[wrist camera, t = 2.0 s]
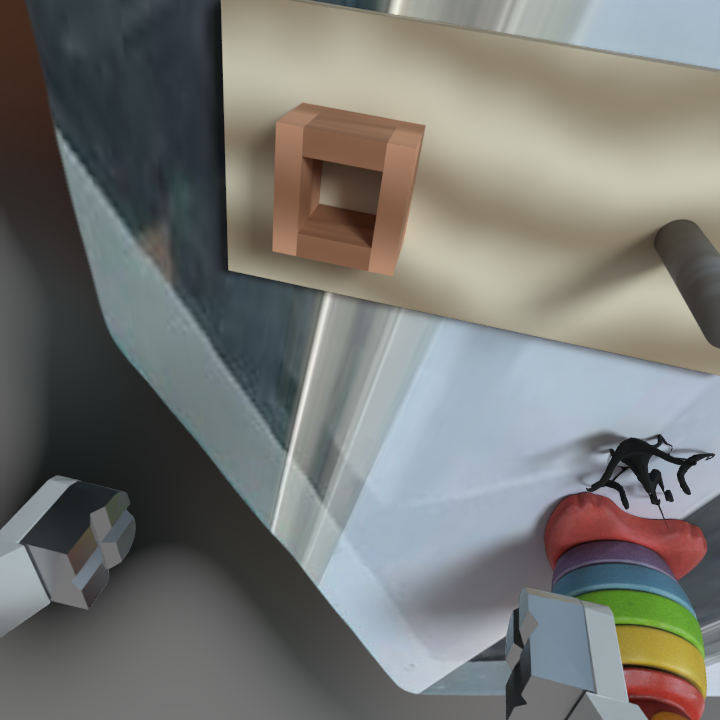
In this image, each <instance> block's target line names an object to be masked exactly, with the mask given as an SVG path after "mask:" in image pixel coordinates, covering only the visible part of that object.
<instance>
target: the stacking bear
mask: <svg viewBox="0 0 720 720" xmlns="http://www.w3.org/2000/svg"><path fill="white" fill-rule="evenodd" d="M665 521H666V523H667V525H666V523H665ZM667 526H668V527H667ZM668 528H669V529H668ZM544 542H545V550H546V554H547V558H548V561H549V563H550V566H551V568H552V569H553V571H554V574H553V580H552V592H551V593H556V594H560V595H565V596H569V597H574V598H578V599H579V600H583V601H588V602H592V603H597V604H602V605H606V606H608V607H609V608H610V609H611V611H612V613H613V617H614V622H615V628H616V633H617V639H618V644H619V650H620V656H621V661H622V667H623V672H624V678H625V683H626V689H627V694H628V700H629V702H630V703H633V704H636V705H638V706H639V707H640V709H641V710H642V712H643V713H644V714H645V716H646V717H647V719H648V720H700V718H701V716H702V714H703V711H704V708H705V701H704V700H705V698H706V690H707V683H706V669H705V663H704V657H705V653H704V645H703V639H702V634H701V629H700V626H699V623H698V621H697V618H696V614H695V612H694V610H693V608H692V605H691V603H690V601H689V599H688V597H687V595H686V593H685V592H684V590H683V589H682V587H681V586H680V585H679V583H678V581H677V580H679V579H680V578H682V577H683V576H684V575H686V574H687V573H688V572H690V571H691V570H692V569H693V568H694V567H695V566H696V565H697V564H698V563H699V562H700V561H701V560H702V559H703V557H704V556H705V553H706V552H707V542H706V539H705V537H704V536H703V532H702V530H701V529H700V528H699V527H697V526H695V525H692V524H689V523H688V522H685V521H682V520H673V519H671V520H650V519H644V518H639V517H636V516H633V515H630V514H628V513H626V512H624V511H622V510H621V509H620V508H619V507H618V506H617V505H616V504H615V503H614V502H613V501H612V500H610V499H609V498H607V497H604V496H600V495H595V494H593V493H588V492H587V493H582V494H578V495H572V496H569V497H567V498H566V499H564V500H563V501H561V502H560V504H559V505H558V506H557V507H556V509H555V510H554V511H553V513H552V515H551V517H550V519H549V521H548V523H547V526H546V530H545V537H544Z"/></svg>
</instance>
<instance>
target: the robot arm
mask: <svg viewBox="0 0 720 720" xmlns="http://www.w3.org/2000/svg"><path fill="white" fill-rule="evenodd" d="M129 504H130V502H129V499H128V496H127V493H126V492H122V491H118V490H114V489H110V488H106V487H102V486H98V485H94V484H90V483H86V482H82V481H79V480H74V479H71V478H67V477H62V476H58V475H57V476H55V477H53V478H51V479H49V480H48V481H47V482H46V483H45V484H44V485H43V486H42V487H41V488H40V489H39V490H38V491H37V492H36V493H35V494H34V495H33V496H32V498H31V499H30V500H29V501H28V502H27V503H26V504H25V505H24V506H23V507H22V508H21V509H20V510H19V511H18V512H17V513H16V514H15V515H14V516H13V517H12V519H11V520H10V521H9V522H8V523H7V524H6V525H5V526H4V527H3V528H2V529H1V530H0V637H2V636H3V635H5V634H6V633H8V632H9V631H10V630H12V629H13V628H15V627H16V626H18V625H19V624H21V623H22V622H23V621H25V620H26V619H28V618H29V617H31V616H32V615H34V614H35V613H37V612H38V611H39V610H41V609H42V608H44V607H45V606H47V605H48V604H49V603H50V601H55V602H59V603H63V604H67V605H72V606H75V607H80V608H84V609H90V607H91V606H92V604H93V603H94V601H95V600H96V598H97V597H98V596H99V594H100V592H101V591H102V590H103V588H104V587H105V585H106V584H107V582H108V581H109V574H108V569H109V568H111V567H113V566H115V565H116V564H118V563H120V562H121V561H122V560H123V559H124V557H125V556H126V554H127V553H128V551H129V549H130V547H131V544H132V541H133V539H134V536H135V521H134V517H132V515H131V514H130V513H129V512H128V511H127V510H126V508H127V507H128V505H129ZM49 600H50V601H49ZM506 662H507V664H508V665H509V667H510V669H511V670H512V673H511V675H510V677H509V679H508V681H507V684H506V720H648V719H647V717H646V716H645V714H644V713H643V712H642V710H641V709H640V707H639V706H638V705H636V704H633V703H630V702H629V700H628V694H627V689H626V683H625V678H624V672H623V667H622V661H621V656H620V650H619V644H618V639H617V633H616V628H615V622H614V617H613V613H612V611H611V609H610V608H609V607H608V606H606V605H602V604H597V603H592V602H588V601H583V600H579V599H578V598H574V597H569V596H565V595H560V594H556V593H551V592H547V591H542V590H538V589H533V588H529V587H525V588H523V589H522V591H521V593H520V596H519V608H517V609H515V610H513V612H512V615H511V618H510V620H509V625H508V630H507V637H506Z"/></svg>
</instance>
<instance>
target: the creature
mask: <svg viewBox="0 0 720 720" xmlns="http://www.w3.org/2000/svg"><path fill="white" fill-rule="evenodd" d="M657 438H658V443H657V444H656V445H650V444H648V443H647V442H645V441H643V440H640V439H637V438H632V437H631V438H629V439H626V440H624V441H623V442H622V443H620V445H619V446H618V447H617V449H616V451H614V450H613V449H610V452H611V456H612V458H611V460H610V462H609V464H608V466H607V468H606V471H605V473H604V474H603V476H602V478H601V479H600V481H598V482H596V483H595V484H593V485H592V486H591V488H589V489H587V488H586V489H587V491H589V492H593V491H595V490H597V489H599V488H600V487H605V486H607V487H610V488H614V489H616V490H617V491H618V492H619V493H620V497H621V501H622V504H623V506H624V507H625V509H626V510H627V509H628V508H629V503H628V500H627V498H626V495H625V491H624V489H623V487H622V486H621V485H620V484H619V483H617V482H615V481H614V480H615V479H616V478H617V477H618V476H619V475H620V474H622V473H623V472H624V471H625V470H627V469H628V468H629V467H630V469H631V470H632V471H633V472H634V474H635V475H636V476H637V479H638V481H640V482H641V483H642V485H643V487H644V489H645V490H646V492H647V493H648V494H649V496H650V500H651V503H652V504H655V505H658V507H659V509H660V511H661V508H660V505H659V504H660V499H659V500H658V499H657V496H656V491H655V490H656V486H657V484H659V486H660V487H661V489H662V491H663V492H664V485H663V481H662V477H661V472H660V471H659V470H657V469H652V471H651V473H648V462H649V459H650V458H651V456H652V455H655V456H658V457H660V458H662V459H664V460H666V461H668V462H671V463H674V464H677V465H681V466H680V468H679V470H678V472H677V478H678V481H679V483H680V487H681V488H682V490H683V491H684V493H685V494H688V495H690V494H691V492H690V489H689V487H688V485H687V484H686V482H685V478H684V474H685V473H686V472H687V470H688V469H689V468H690V467H691V466H694V465H696V463H697V461H699V460H701V459H703V458H705V457H707V456H713V457H714V456H715V454H713V453H707V454H697V455H693V456H691V457H689V458H688V459H682V458H674V457H672V456H670V455H669V454H670V453H669V454H666V453H665V452H663V451H661V450H659V449H657V448H658V447H659V446H660V445H661V444H662V441H663V442H664V443H665V444H667V445H669V446H671V447H672V445H670V444H668V443H667V442H666V441H665V439H664V438H663V437H662V435H661V434H659V435H658V437H657ZM661 440H662V441H661ZM671 451H672V449H671ZM713 457H711V458H713ZM711 458H709V459H711ZM680 459H681V460H680ZM706 460H708V459H706ZM620 461H622V463H625V464H626V465H628V466H629V467H621V468H622V469H623V470H622V471H621V473H620V474H618V475H617V476H616V477H615V478H614V479H613V480H609V479H610V477H611V475H612V473H613V471H614V469H615V467H616V466H617V464H618V463H619V462H620ZM618 467H620V466H618ZM650 493H651V494H650ZM664 495H665V499H666V501H670V502H673V501H674V499H673V496H672V493H671V491H670V490H666V491H665V492H664ZM661 513H662V511H661ZM662 516H663V513H662ZM663 518H664V516H663ZM664 520H665V518H664ZM665 523H666V521H665ZM666 525H667V523H666ZM667 527H668V526H667ZM668 529H669V528H668Z"/></svg>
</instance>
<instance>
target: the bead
mask: <svg viewBox="0 0 720 720" xmlns="http://www.w3.org/2000/svg"><path fill="white" fill-rule="evenodd" d="M425 127H426V125H421V124H416V123H411V122H405V121H400V120H395V119H389V118H384V117H378V116H373V115H368V114H362V113H357V112H351V111H346V110H341V109H335V108H330V107H324V106H319V105H314V104H308V103H301V104H300V105H299V106H297V107H296V108H295V109H293V110H292V111H290V112H289V113H288V114H286V115H285V116H283V117H282V118H281V119H279V120H278V121H277V122H276V142H275V177H274V213H273V249H272V251H274V252H279V253H284V254H288V255H293V256H298V257H303V258H307V259H312V260H317V261H322V262H326V263H331V264H336V265H341V266H345V267H350V268H355V269H360V270H365V271H369V272H374V273H379V274H384V275H388V276H393V273H394V270H395V267H396V264H397V261H398V258H399V255H400V252H401V249H402V246H403V243H404V238H405V232H406V227H407V222H408V216H409V211H410V206H411V201H412V195H413V190H414V185H415V179H416V174H417V169H418V164H419V158H420V153H421V148H422V142H423V137H424V132H425ZM323 160H324V161H330V162H335V163H340V164H345V165H350V166H355V167H361V168H366V169H371V170H376V171H381V172H383V176H382V182H381V189H380V196H379V202H378V209H377V215H374V214H369V213H364V212H359V211H354V210H349V209H344V208H339V207H334V206H329V205H324V204H319V199H320V187H321V175H322V162H323Z"/></svg>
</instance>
